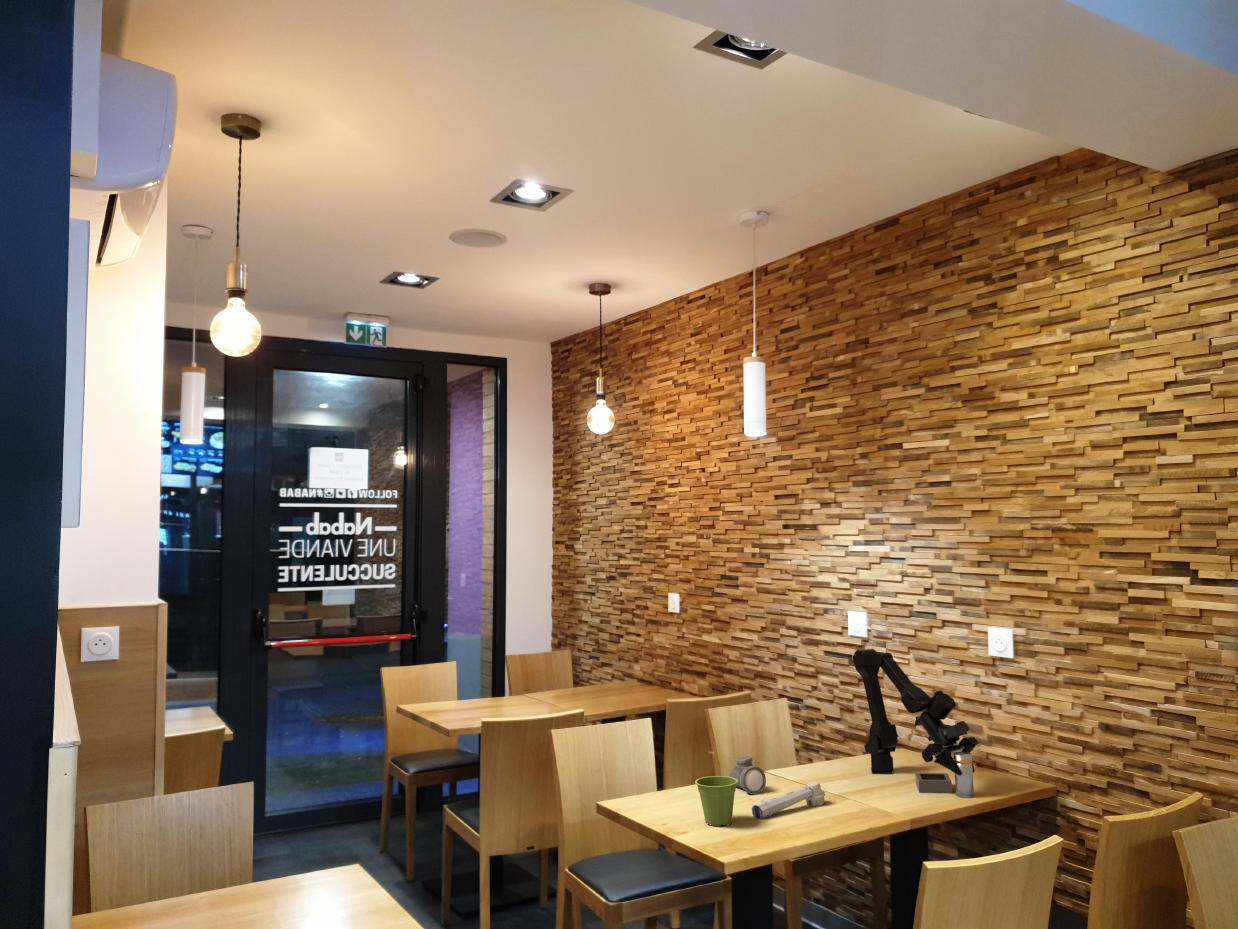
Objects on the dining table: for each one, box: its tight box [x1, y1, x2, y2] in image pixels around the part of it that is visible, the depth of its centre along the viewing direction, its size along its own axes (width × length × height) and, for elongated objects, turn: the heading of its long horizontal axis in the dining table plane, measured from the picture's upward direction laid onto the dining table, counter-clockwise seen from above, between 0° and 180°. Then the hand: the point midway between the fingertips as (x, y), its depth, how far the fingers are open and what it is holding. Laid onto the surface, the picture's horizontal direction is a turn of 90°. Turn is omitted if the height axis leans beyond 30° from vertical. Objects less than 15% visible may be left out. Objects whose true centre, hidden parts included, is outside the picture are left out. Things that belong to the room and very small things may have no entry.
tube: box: [952, 751, 975, 799], centre depth 270 cm, size 5×5×12 cm
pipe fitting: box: [728, 756, 767, 795], centre depth 285 cm, size 12×8×10 cm, turn 21°
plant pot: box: [694, 775, 738, 827], centre depth 253 cm, size 12×12×11 cm
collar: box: [914, 772, 953, 794], centre depth 278 cm, size 9×9×4 cm
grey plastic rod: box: [751, 781, 826, 820], centre depth 262 cm, size 5×7×25 cm
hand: (967, 773), depth 269 cm, fingers closed on tube, 5 cm apart
